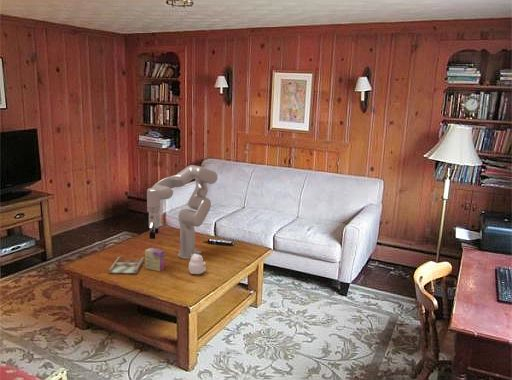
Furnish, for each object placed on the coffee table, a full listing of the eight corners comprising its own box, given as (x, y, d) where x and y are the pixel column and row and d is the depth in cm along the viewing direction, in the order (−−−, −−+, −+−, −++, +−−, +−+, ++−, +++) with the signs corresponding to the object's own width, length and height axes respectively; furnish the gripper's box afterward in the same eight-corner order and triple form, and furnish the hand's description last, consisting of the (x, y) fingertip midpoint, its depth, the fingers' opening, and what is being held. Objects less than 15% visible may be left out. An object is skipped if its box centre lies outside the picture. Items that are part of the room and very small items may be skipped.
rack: (144, 261, 272) (143, 257, 272) (136, 274, 253) (136, 270, 252) (118, 260, 272) (118, 256, 271) (108, 274, 252) (108, 269, 252)
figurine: (197, 278, 251) (197, 259, 249) (184, 274, 256) (184, 255, 254) (207, 272, 260) (208, 253, 257) (195, 268, 265) (195, 250, 262)
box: (164, 267, 264) (164, 249, 261) (159, 271, 259) (159, 253, 256) (150, 265, 267) (149, 247, 265) (145, 268, 262) (144, 250, 259)
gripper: (157, 212, 246) (157, 241, 250) (162, 205, 263) (163, 231, 267) (144, 212, 246) (144, 240, 249) (150, 204, 263) (150, 231, 266)
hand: (154, 236), depth 258 cm, fingers open, 9 cm apart
